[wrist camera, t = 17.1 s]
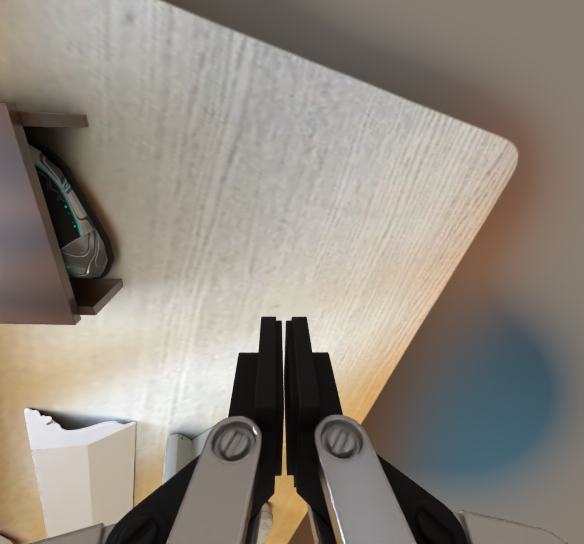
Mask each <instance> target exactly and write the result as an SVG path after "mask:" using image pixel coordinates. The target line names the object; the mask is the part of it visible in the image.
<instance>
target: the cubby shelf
mask: <svg viewBox="0 0 584 544" xmlns="http://www.w3.org/2000/svg"><path fill="white" fill-rule="evenodd" d="M23 126H32V127H88V123H87V118H86V115H78V114H62V113H45V112H29V111H18V109H17V106H16V103H8V102H0V324H53V325H76V324H77V323H78V322H79V321H80V320H81V317H80V315H96V314H97V313H98V312H99V311H100V310H101V309H102V308H103V307H104V306H105V305H106V304H107V303H108V302H109V301H110V300H111V299H112V298H113V296H114V295H115V294H116V293H117V292H118V291H119V290H120V289H121V288H122V287H123V284H122V279H94V278H89V279H84V278H69V277H68V274H67V271H66V267H65V264H64V261H63V258H62V254H61V251H60V248H59V244H58V241H57V238H56V234H55V231H54V228H53V225H52V221H51V218H50V215H49V211H48V208H47V205H46V201H45V198H44V195H43V192H42V188H41V185H40V182H39V178H38V175H37V172H36V168H35V165H34V162H33V159H32V155H31V152H30V149H29V145H28V142H27V139H26V135H25V132H24V129H23Z"/></svg>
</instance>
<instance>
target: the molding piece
mask: <svg viewBox="0 0 584 544" xmlns="http://www.w3.org/2000/svg"><path fill="white" fill-rule="evenodd" d="M24 415H25V420H26V426H27V431H28V437H29V442H30V447H31V453H32V458H33V463H34V468H35V474H36V479H37V484H38V489H39V494H40V500H41V505H42V510H43V515H44V521H45V526H46V531H47V536H48V538H51V537H54V536H58V535H61V534H65V533H68V532H72V531H75V530H79V529H82V528H86V527H89V526H93V525H96V524H100V523H104V525H105V526H108V525H112V524H115V523H118V522H119V521H120V520H121V519H122V518H123V517H124V516H125V515H126V514H127V513H128V512H129V511H131V510H132V509H133V486H134V460H135V434H136V422H135V421H133V422H130V423H127V424H121V423H117V422H116V421H106V422H102V423H99V424H95V425H92V426H89V427H86V428H82V429H77V430H64V429H62V428H61V427H60V424H57V423H55V421H54V420H52V418H51V417H50V416H47V417H45V415H43V416H40V413H39V411H37V410H31V409H30V410H29V408H27V409H24Z"/></svg>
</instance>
